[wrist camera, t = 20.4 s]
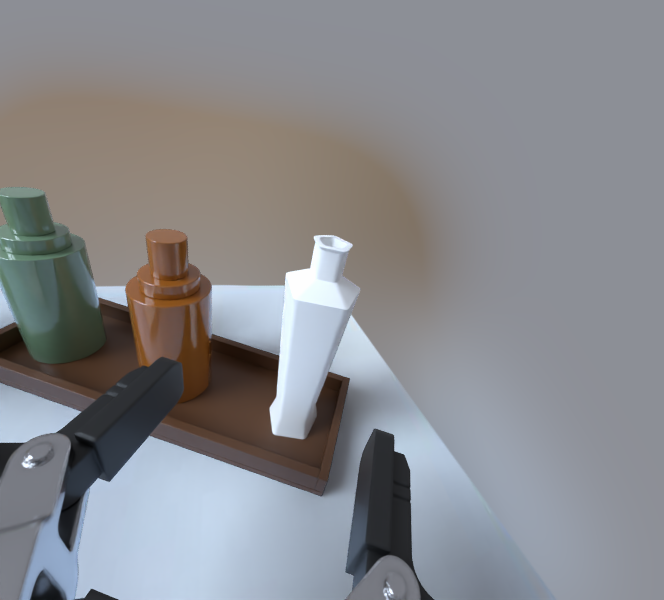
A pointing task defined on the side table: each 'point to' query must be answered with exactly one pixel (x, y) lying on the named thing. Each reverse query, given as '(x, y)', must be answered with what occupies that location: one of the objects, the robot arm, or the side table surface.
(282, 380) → the perfume bottle
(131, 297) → the amber bottle
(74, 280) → the sage bottle
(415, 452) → the side table surface
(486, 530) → the side table surface
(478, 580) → the side table surface
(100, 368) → the tray
